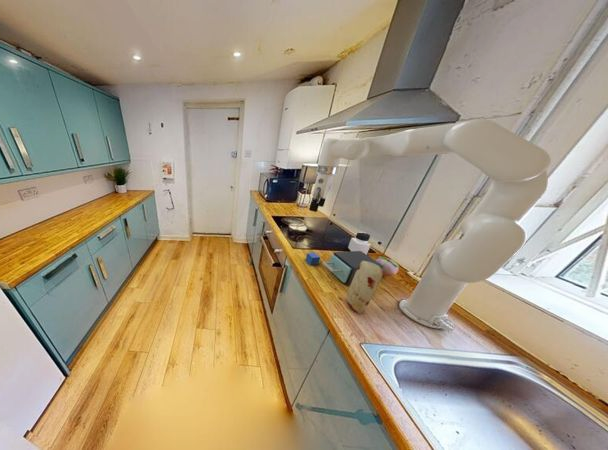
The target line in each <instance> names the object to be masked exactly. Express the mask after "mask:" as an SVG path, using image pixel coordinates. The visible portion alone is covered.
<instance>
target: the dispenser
mask: <svg viewBox="0 0 608 450" xmlns="http://www.w3.org/2000/svg"><path fill="white" fill-rule="evenodd" d="M332 255H335V256H336V257H339V258H340V259H341V260H342V261H344V262H345V263H346V264H348V265H349V266H350V267H351V268H352V270H351V273H350V275H349V278H348V280H347V281H346V283H345V285H347V286H350V285H351V283H352V280H353V278H354V275H355V273H356V271H357V269H358V267H359V265H360V263H361V261H368V262H371V263H374V264H376V265H378V266H379V267H380V268H381V269H383V267H384V266H383V265H381V264H380V263H378V262H377V261H375V260H376V259H374V258H372V257H370V255H368V254H367V255H366V254H364V253H363V252H361V251H335V252H333V254H332Z"/></svg>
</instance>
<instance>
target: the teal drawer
mask: <svg viewBox="0 0 608 450" xmlns="http://www.w3.org/2000/svg"><path fill="white" fill-rule="evenodd" d="M321 265H323V266H324V268H326V269H327V270H328V271H330V273H331V274H333V275H334V276H335V277H336V278H337V279H339V280H340V281H341V282H342V283H344V284H346V281H347V280H348V278H349V275H350V273H351V270H352V268H351V267H350V266H349V265H348V264H346V263H345V262H344V261H342V260H341V259H340V258H339V257H336V256H335V255H333V254H330V257H329V260H328V261H326V262H325V261H321Z"/></svg>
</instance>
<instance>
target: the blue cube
mask: <svg viewBox="0 0 608 450" xmlns="http://www.w3.org/2000/svg"><path fill="white" fill-rule="evenodd" d="M320 259H321V256H319V255H318V254H317V252H307V253H306V257H305V261H306V262H307V263H308V264H309V265H310V266H312V265H313V266H314V265H315V266H317V265H319V263H320Z"/></svg>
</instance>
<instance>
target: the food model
mask: <svg viewBox="0 0 608 450" xmlns="http://www.w3.org/2000/svg"><path fill="white" fill-rule="evenodd" d="M382 279H383V273H382V269H381V268H380V267H379V266H378V265H376V264H374V263H371V262H368V261H361V263H360V265H359V267H358V269H357V271H356V273H355V275H354V278H353V280H352V283H351V285H349V288H348V291H347V295H346V301H347V305H348V306H349V308H350V309H351V310H352V311H354V312H355V313H359V314H360V313H363V311H364V310H365V309H366V308H367V307H368V306H369V304H370V302H371V301H372V299H373V296H374V295H375V293H376V291H377V289H378V287H379V284H380V283H381V281H382Z"/></svg>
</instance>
